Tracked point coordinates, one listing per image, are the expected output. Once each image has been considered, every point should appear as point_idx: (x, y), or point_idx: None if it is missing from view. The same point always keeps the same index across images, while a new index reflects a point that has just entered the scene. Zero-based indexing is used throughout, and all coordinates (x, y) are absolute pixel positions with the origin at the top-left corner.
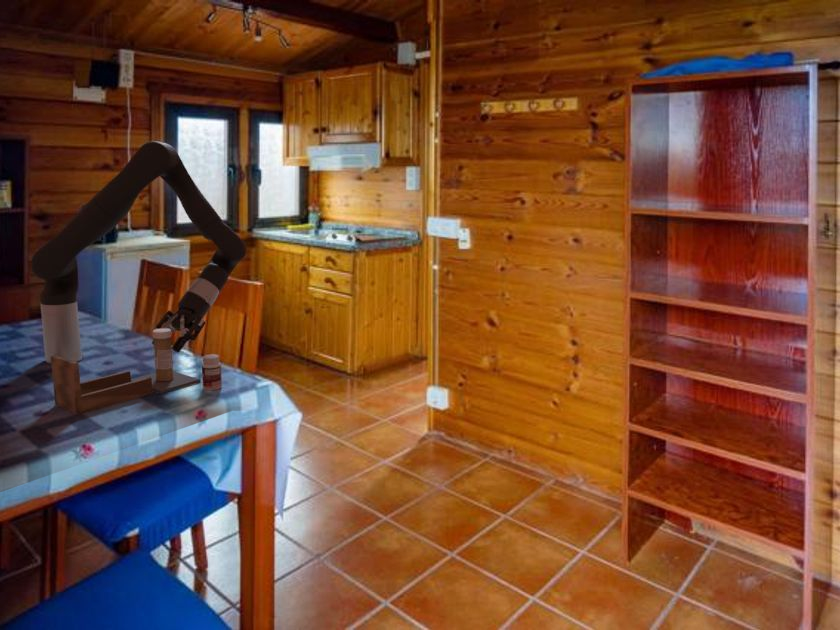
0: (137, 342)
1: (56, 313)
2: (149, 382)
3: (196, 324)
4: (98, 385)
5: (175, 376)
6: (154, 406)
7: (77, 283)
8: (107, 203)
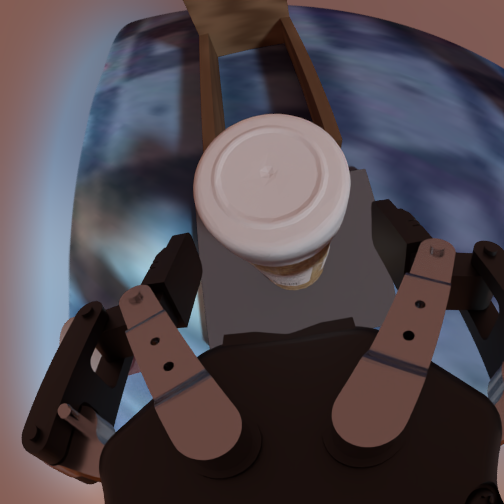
0: None
1: None
2: None
3: (44, 386)
4: (302, 76)
5: (302, 305)
6: (135, 161)
7: None
8: None
